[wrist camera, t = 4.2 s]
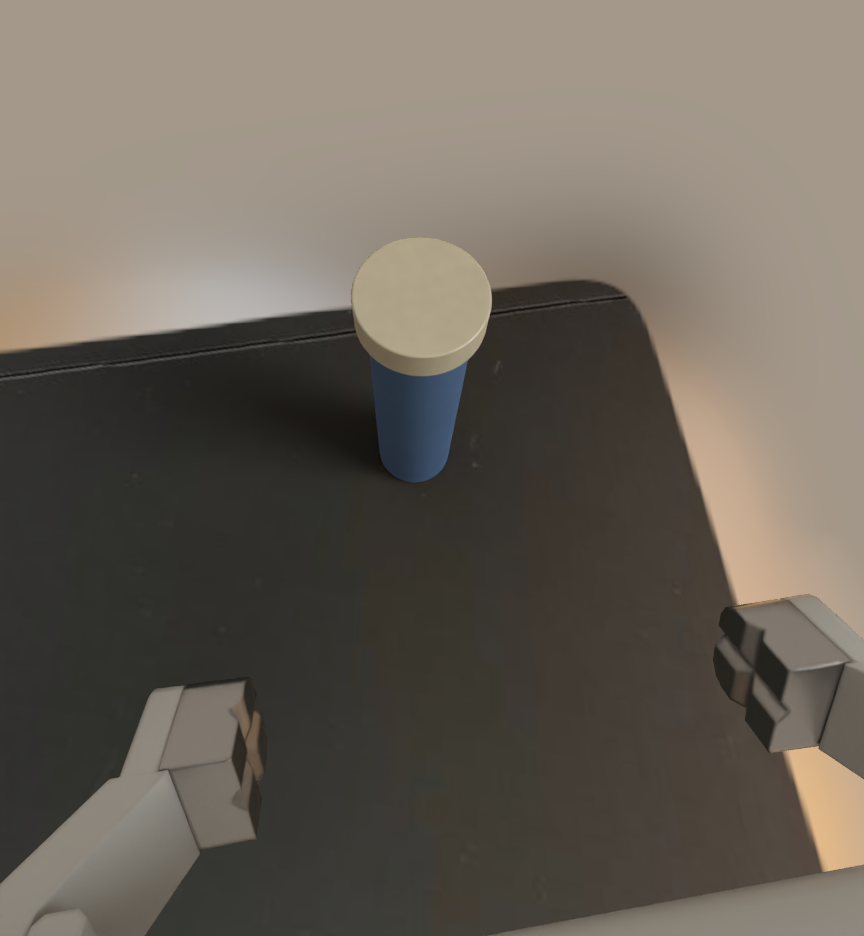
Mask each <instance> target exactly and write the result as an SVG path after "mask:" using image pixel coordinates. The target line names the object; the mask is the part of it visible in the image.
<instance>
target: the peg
mask: <svg viewBox="0 0 864 936" xmlns="http://www.w3.org/2000/svg"><path fill="white" fill-rule="evenodd" d="M351 303H352V310H353V318H354V325H355V330H356V333H357V336H358V338H359V340H360V342H361V344H362V345H363V347H364V348H365V350H366V351H367V352H368V353H369V355H370V365H371V374H372V384H373V394H374V403H375V413H376V422H377V432H378V441H379V451H380V457H381V461H382V463H383V465H384V466H385V468H386V469H387V470H388V472H389V473H391V474H392V475H393V476H394V477H396V478H398V479H400V480H403V481H406V482H422V481H426V480H428V479H431V478H432V477H434V476H436V475H437V474H438V473H439V472H440V471H441V470H442V469H443V467H444V465H445V464H446V461H447V458H448V454H449V449H450V444H451V439H452V434H453V429H454V425H455V420H456V415H457V410H458V405H459V400H460V395H461V391H462V386H463V381H464V376H465V371H466V366H467V361H468V359H469V358H470V357H471V356H472V355H473V354H474V353H475V352H476V350H477V349H478V348H479V346H480V344H481V343H482V341H483V338H484V335H485V332H486V328H487V324H488V320H489V315H490V311H491V305H492V295H491V288H490V284H489V282H488V279H487V277H486V275H485V273H484V271H483V269H482V268H481V266H480V265H479V264H478V263H477V261H476V260H475V259H474V258H473V257H472V256H470V255H469V254H468V253H466V252H465V251H464V250H462V249H461V248H459V247H457V246H455V245H453V244H451V243H448V242H446V241H443V240H439V239H434V238H426V237H413V238H405V239H401V240H397V241H394V242H391V243H389V244H387V245H385V246H383V247H381V248H379V249H378V250H376V251H375V252H374V253H372V254H371V255H370V256H369V257H368V258H367V259H366V260H365V261H364V263H363V264H362V265H361V267H360V268H359V270H358V272H357V274H356V276H355V278H354V281H353V284H352V290H351Z"/></svg>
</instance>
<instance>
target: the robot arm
mask: <svg viewBox="0 0 864 936" xmlns="http://www.w3.org/2000/svg"><path fill="white" fill-rule="evenodd" d="M719 626H720V628H721V629H722V630H723V631H724V633H725V634H724V635H723V637H722V638H721V639H720V640H719V641H718V642H717V643H716V644H715V649H714V657H713V662H714V667H715V672H716V676H717V678H718V680H719V683H720V685H721V687H722V689H723V690H724V691H725V693H726V694H727V696H728V697H729V699H731V700H732V701H734V702H736V703H738V704H740V705H741V706H743V707H745V708H746V715H745V721H746V722H747V723H748V725H749V726H750V727H751V729H752V730H753V732H754V733H755V734H756V736H757V737H758V738H759V740H760V741H761V742H762V744H763V745H764V747H765V748H766V749H767V751H768V752H769V753H772V752H779V751H787V750H793V749H801V748H807V747H815V746H819V749H820V750H821V751H823V752H824V753H826V754H827V755H829V756H830V757H832V758H833V759H835V760H836V761H838V762H839V763H841V764H842V765H844V766H845V767H847V768H848V769H850V770H851V771H853V772H854V773H856V774H857V775H859V776H860V777H861V778H863V779H864V639H863V638H862V637H860V636H859V635H858V634H857V633H856V632H855V631H854V630H853V629H852V628H851V627H849V626H848V625H847V624H846V623H845V622H844V621H843V620H842V619H841V618H839V617H838V616H837V615H836V614H835V613H834V612H833V611H832V610H831V609H829V608H828V607H827V606H826V605H825V604H824V603H823V602H822V601H821V600H820V599H819V598H817V597H815V596H812V595H810V594H805V595H799V596H792V597H786V598H781V599H775V600H769V601H762V602H756V603H749V604H743V605H736V606H730V607H726V608H725V609H724V610H723V612H722V613H721V616H720V621H719ZM255 700H256V691H255V687H254V684H253V681H252V679H251V678H249V677H244V678H236V679H227V680H219V681H211V682H203V683H194V684H187V685H185V686H176V687H167V688H158V689H155V690H154V691H153V692H152V693H151V695H150V696H149V697H148V700H147V703H146V705H145V708H144V711H143V714H142V716H141V719H140V722H139V725H138V727H137V730H136V733H135V736H134V738H133V741H132V744H131V746H130V749H129V752H128V755H127V757H126V760H125V763H124V766H123V768H122V771H121V774H120V777H119V778H113V779H109V780H108V781H107V782H106V783H105V784H104V785H103V786H102V787H101V788H100V789H98V790H97V791H96V792H95V793H94V794H93V795H92V796H91V797H90V798H89V799H88V800H87V801H86V802H85V803H84V804H83V805H82V806H81V807H80V808H79V809H78V810H77V811H76V812H75V813H74V814H72V815H71V816H70V817H69V818H68V819H67V820H66V821H65V822H64V823H63V824H62V825H61V826H60V827H59V828H58V829H57V830H56V831H55V832H54V833H53V834H52V835H51V836H50V837H49V838H48V839H46V840H45V841H44V842H43V843H42V844H41V845H40V846H39V847H38V848H37V849H36V850H35V851H34V852H33V853H32V854H31V855H30V856H29V857H28V858H27V859H26V860H25V861H24V862H23V863H22V864H20V865H19V866H18V867H17V868H16V869H15V870H14V871H13V872H12V873H11V874H10V875H9V876H8V877H7V878H6V879H5V880H4V881H3V882H2V883H1V884H0V936H145V934H146V933H147V931H148V930H149V928H150V927H151V925H152V924H153V923H154V921H155V920H156V918H157V917H158V915H159V914H160V912H161V911H162V909H163V908H164V906H165V905H166V903H167V902H168V900H169V899H170V897H171V896H172V894H173V893H174V892H175V890H176V889H177V887H178V886H179V884H180V883H181V881H182V880H183V878H184V877H185V875H186V874H187V872H188V871H189V869H190V868H191V866H192V865H193V863H194V862H195V861H196V859H197V858H198V856H199V855H200V852H199V850H204V849H209V848H214V847H219V846H224V845H229V844H234V843H239V842H244V841H249V840H254V839H256V837H257V829H258V822H259V814H260V807H261V795H260V792H259V788H258V784H257V782H258V781H259V780H260V778H261V777H262V776H263V775H264V774H265V767H266V757H267V749H266V731H265V724H264V720H263V716H262V713H261V712H259V711H258V710H256V709H255V708H254V707H255ZM487 936H864V865H860V866H854V867H849V868H844V869H838V870H833V871H828V872H822V873H817V874H812V875H806V876H801V877H796V878H790V879H785V880H780V881H775V882H769V883H764V884H759V885H753V886H748V887H743V888H737V889H732V890H727V891H721V892H716V893H711V894H705V895H700V896H695V897H689V898H684V899H679V900H673V901H668V902H663V903H657V904H652V905H647V906H641V907H636V908H631V909H626V910H620V911H615V912H610V913H604V914H599V915H594V916H588V917H583V918H578V919H572V920H567V921H562V922H557V923H551V924H546V925H541V926H535V927H530V928H525V929H519V930H514V931H509V932H503V933H498V934H493V935H487Z"/></svg>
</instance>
